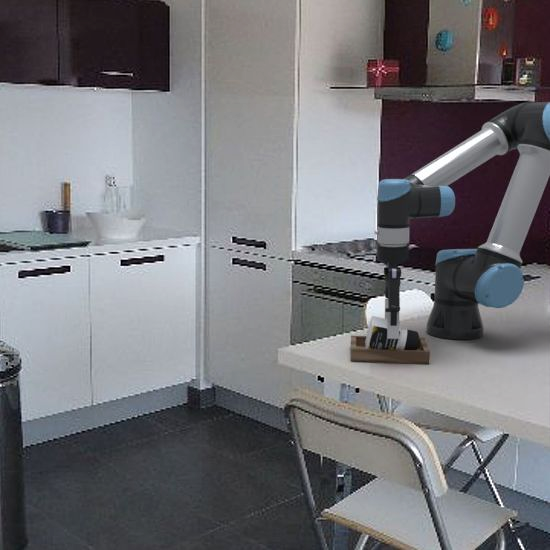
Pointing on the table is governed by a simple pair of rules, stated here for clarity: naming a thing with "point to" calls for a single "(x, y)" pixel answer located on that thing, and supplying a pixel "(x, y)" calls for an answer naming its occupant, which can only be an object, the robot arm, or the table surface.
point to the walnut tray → (388, 353)
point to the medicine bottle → (379, 339)
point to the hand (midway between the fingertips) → (391, 331)
